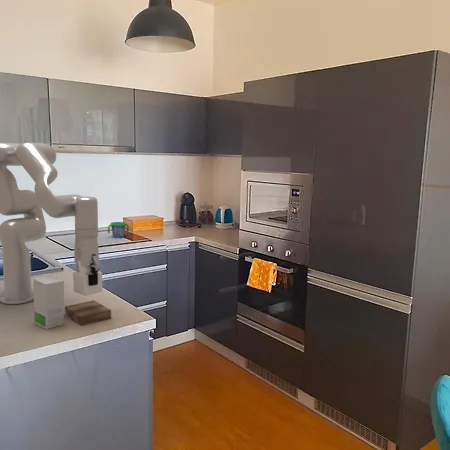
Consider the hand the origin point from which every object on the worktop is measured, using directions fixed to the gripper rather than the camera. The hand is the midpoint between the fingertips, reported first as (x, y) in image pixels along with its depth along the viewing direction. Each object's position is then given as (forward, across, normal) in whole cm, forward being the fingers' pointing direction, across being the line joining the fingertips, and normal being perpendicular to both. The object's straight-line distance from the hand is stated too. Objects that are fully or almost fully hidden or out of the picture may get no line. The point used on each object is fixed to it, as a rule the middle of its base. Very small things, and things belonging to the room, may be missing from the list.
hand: (87, 282), depth 150 cm
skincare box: (+13, -2, -13) cm, 18 cm away
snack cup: (+12, -129, +83) cm, 154 cm away
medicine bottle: (+4, 0, 0) cm, 4 cm away
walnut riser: (+13, 0, 0) cm, 13 cm away
